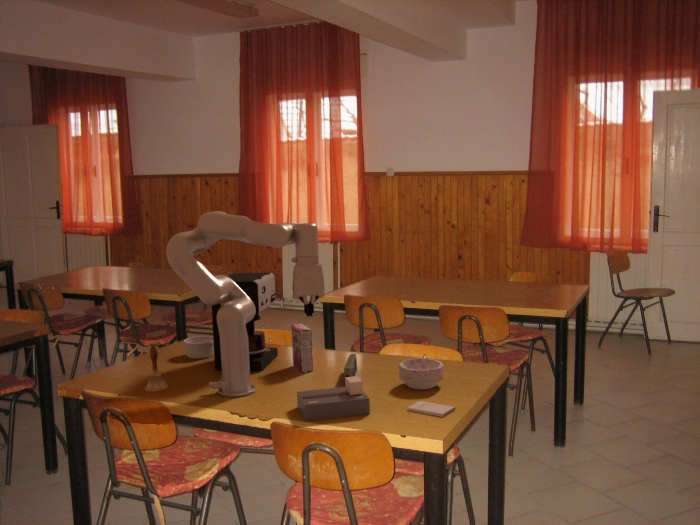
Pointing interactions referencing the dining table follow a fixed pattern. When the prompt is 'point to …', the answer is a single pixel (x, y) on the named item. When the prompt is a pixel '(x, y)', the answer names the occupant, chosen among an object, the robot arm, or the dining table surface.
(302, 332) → the candy bar box
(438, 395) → the dining table surface
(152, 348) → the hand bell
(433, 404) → the external hard drive
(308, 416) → the switch panel
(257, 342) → the coffee maker
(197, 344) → the ramekin
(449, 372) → the dining table surface
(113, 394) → the dining table surface
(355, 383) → the knob
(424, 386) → the pale lavender bowl
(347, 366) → the handheld radio
